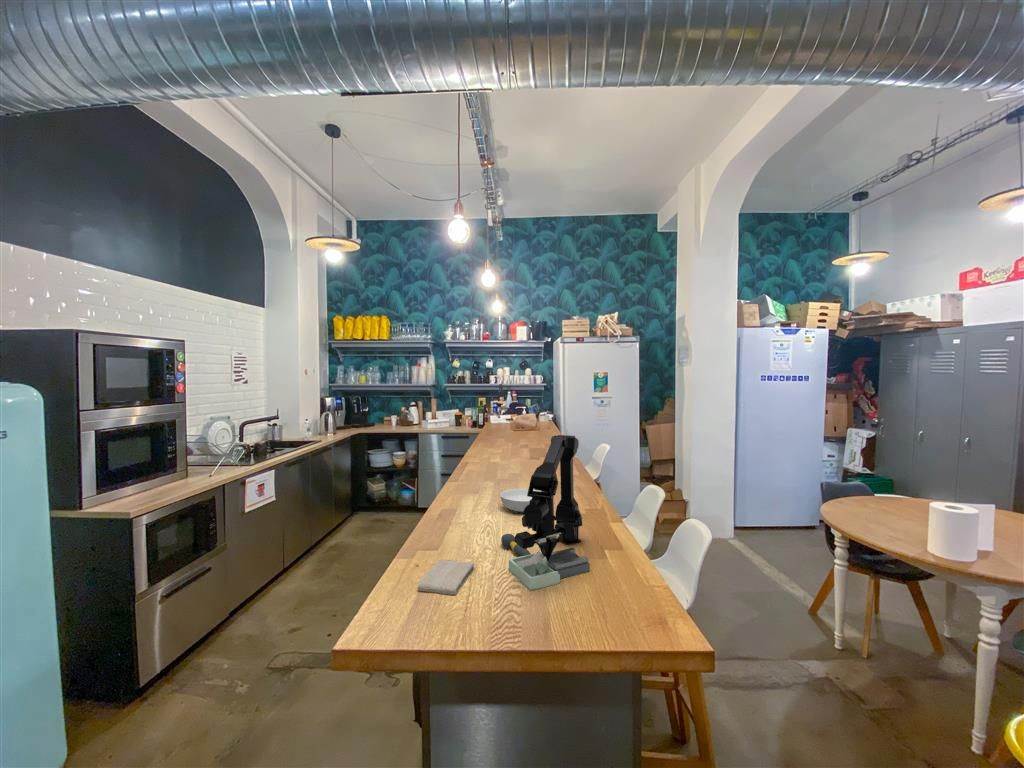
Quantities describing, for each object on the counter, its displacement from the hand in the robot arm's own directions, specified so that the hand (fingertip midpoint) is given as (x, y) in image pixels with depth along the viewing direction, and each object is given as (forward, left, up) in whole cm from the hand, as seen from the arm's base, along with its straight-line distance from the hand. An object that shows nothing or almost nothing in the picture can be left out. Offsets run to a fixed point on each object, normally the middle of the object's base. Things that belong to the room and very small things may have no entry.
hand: (546, 561), depth 130 cm
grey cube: (+1, 0, -2) cm, 2 cm away
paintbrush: (+1, -17, -4) cm, 18 cm away
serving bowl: (-23, -57, -4) cm, 62 cm away
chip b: (+5, 0, -1) cm, 5 cm away
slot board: (-7, 0, -4) cm, 8 cm away
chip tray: (+5, 0, -4) cm, 6 cm away
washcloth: (+28, -10, -4) cm, 30 cm away
